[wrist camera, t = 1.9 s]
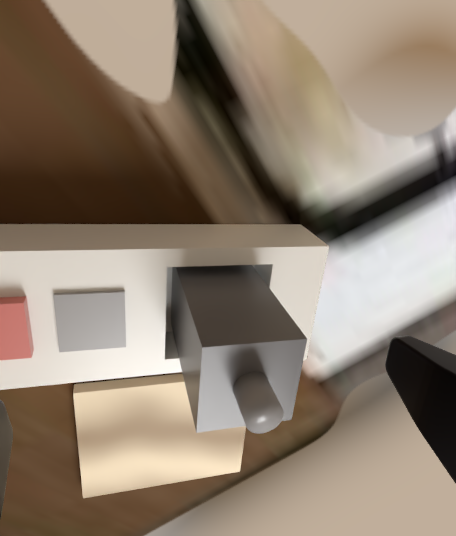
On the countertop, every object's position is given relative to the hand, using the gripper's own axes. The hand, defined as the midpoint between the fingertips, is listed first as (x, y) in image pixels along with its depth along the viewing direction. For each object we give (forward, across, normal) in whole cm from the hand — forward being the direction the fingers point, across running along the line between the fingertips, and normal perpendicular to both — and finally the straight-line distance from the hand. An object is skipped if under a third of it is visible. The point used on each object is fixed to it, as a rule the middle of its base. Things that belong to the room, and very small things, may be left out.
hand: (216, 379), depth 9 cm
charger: (+12, -2, +4) cm, 13 cm away
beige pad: (+13, +1, +15) cm, 20 cm away
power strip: (+13, +1, +4) cm, 14 cm away
